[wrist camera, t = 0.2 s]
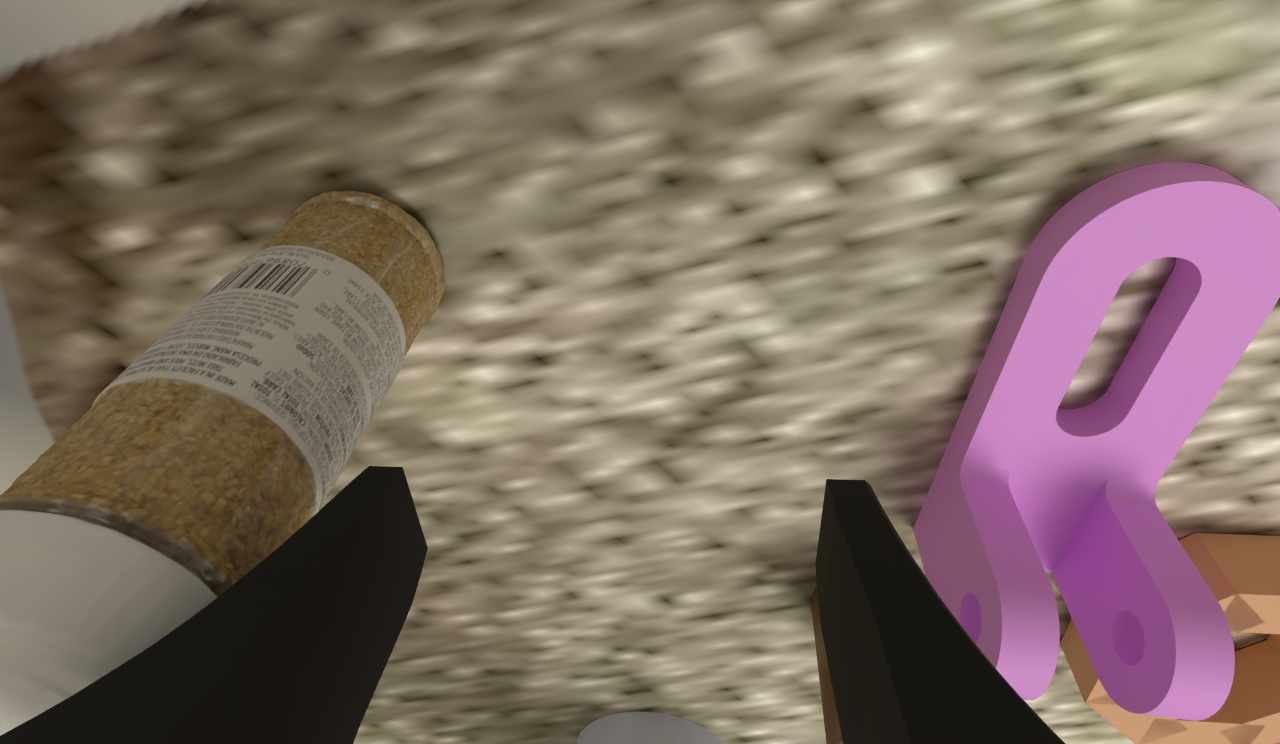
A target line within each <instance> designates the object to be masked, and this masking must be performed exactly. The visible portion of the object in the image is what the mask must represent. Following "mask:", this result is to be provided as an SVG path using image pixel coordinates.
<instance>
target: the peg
mask: <svg viewBox="0 0 1280 744" xmlns="http://www.w3.org/2000/svg"><path fill="white" fill-rule="evenodd" d="M811 608H812V617H813V626H814V635H815V643H816V652H817V661H818V670H819V679H820V688H821V697H822V706H823V715H824V724H825V733H826V742H827V744H843V739H842V734H841V729H840V724H839V719H838V714H837V708H836V703H835V698H834V693H833V688H832V682H831V677H830V672H829V667H828V662H827V656H826V651H825V646H824V640H823V635H822V629H821V624H820V614H819V602H818V589H817V588H816V589H815V591H814V592H813V594H812V597H811Z"/></svg>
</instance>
